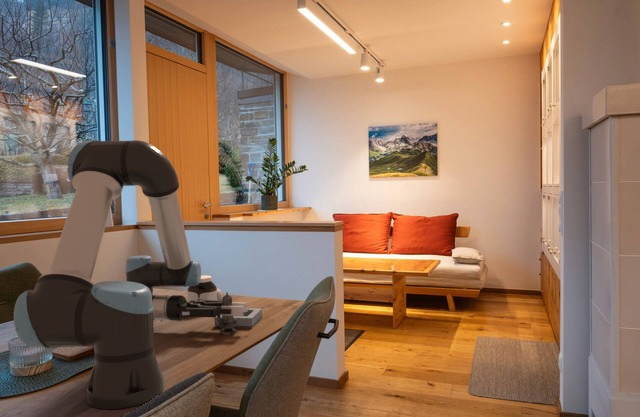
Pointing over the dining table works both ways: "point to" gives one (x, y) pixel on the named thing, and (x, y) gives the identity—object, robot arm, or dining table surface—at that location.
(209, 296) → the spread jar
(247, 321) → the socket block
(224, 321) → the salt shaker
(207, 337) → the dining table surface
